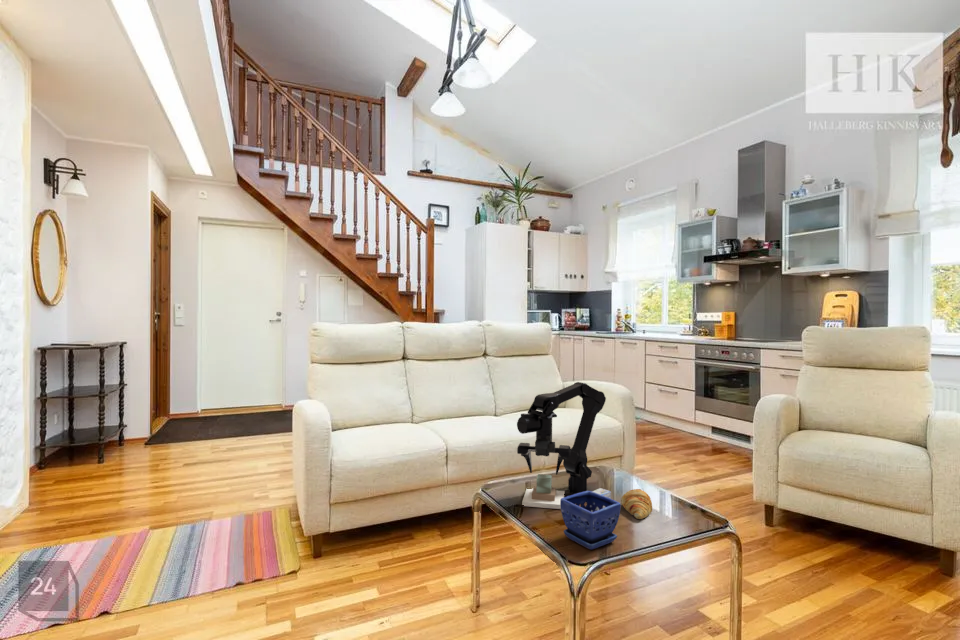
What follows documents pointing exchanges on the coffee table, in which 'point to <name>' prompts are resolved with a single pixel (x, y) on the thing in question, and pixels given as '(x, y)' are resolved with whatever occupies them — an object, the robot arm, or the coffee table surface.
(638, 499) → the croissant
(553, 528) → the coffee table surface
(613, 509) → the flower pot
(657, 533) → the coffee table surface
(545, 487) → the sage cube
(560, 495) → the baseboard
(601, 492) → the medicine box
